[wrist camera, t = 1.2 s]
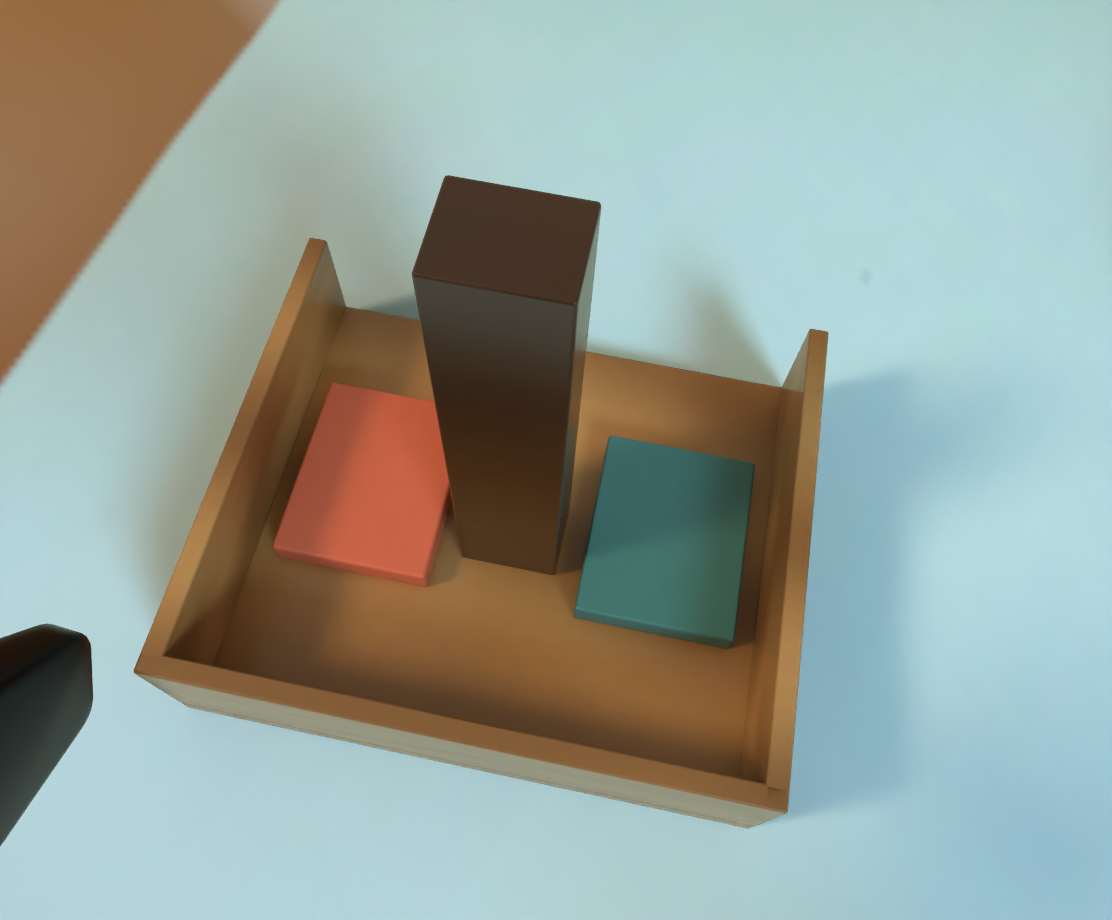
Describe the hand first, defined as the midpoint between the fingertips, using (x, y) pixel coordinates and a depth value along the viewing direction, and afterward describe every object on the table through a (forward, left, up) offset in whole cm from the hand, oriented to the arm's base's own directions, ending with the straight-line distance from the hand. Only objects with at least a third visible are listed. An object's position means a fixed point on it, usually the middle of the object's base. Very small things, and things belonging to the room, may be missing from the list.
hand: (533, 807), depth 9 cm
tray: (+6, +6, -14) cm, 17 cm away
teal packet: (+8, +3, -14) cm, 16 cm away
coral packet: (+5, +9, -14) cm, 17 cm away
